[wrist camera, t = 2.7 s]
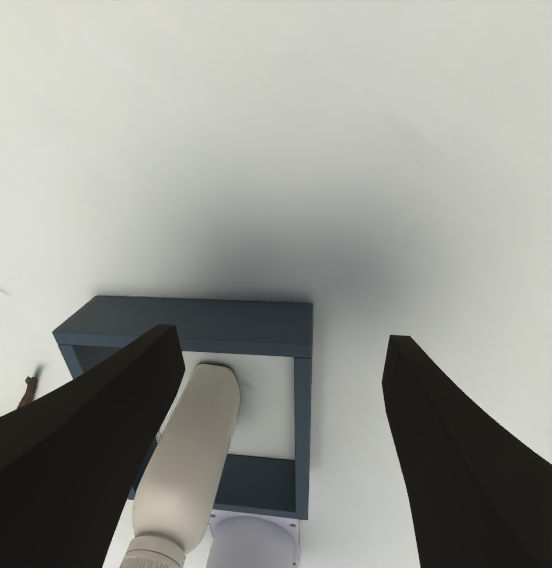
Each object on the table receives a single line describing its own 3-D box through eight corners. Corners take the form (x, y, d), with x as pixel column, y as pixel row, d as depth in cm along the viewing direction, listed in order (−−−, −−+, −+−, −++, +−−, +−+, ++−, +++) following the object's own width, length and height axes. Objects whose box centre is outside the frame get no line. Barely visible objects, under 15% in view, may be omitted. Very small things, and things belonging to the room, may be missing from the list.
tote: (309, 468, 24) (307, 520, 21) (150, 452, 25) (127, 499, 22) (313, 302, 17) (312, 344, 14) (95, 295, 18) (50, 331, 15)
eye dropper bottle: (170, 400, 22) (35, 661, 12) (205, 351, 19) (74, 629, 9) (224, 428, 23) (144, 697, 12) (265, 384, 20) (208, 677, 10)
